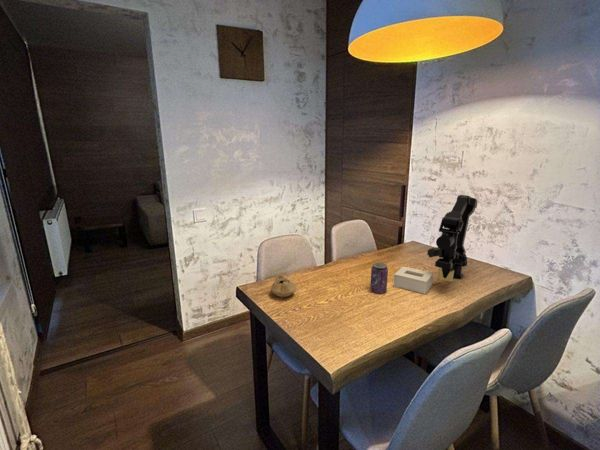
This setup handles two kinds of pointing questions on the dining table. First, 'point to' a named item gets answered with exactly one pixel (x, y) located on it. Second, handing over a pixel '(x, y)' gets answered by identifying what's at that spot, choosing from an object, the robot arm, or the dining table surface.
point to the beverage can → (379, 277)
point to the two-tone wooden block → (449, 277)
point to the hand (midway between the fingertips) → (445, 276)
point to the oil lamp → (283, 287)
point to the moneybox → (413, 280)
